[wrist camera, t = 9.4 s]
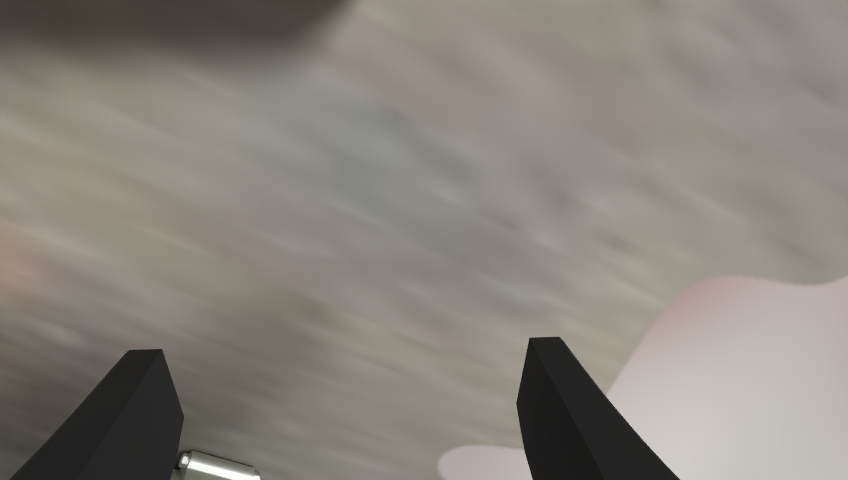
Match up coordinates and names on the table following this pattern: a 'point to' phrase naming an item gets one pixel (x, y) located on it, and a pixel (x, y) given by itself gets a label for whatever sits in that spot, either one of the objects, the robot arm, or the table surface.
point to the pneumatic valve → (211, 469)
